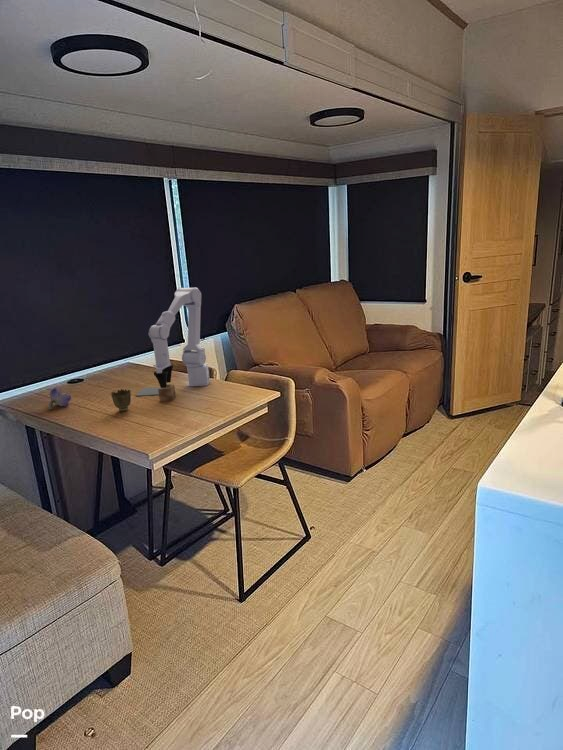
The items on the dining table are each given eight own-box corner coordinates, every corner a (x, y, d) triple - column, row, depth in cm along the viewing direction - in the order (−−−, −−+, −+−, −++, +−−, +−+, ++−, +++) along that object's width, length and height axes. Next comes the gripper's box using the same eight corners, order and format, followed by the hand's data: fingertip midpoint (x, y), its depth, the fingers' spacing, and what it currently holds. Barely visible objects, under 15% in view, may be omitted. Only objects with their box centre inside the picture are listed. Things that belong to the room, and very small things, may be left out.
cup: (128, 406, 198) (125, 387, 196) (136, 409, 193) (133, 391, 191) (110, 411, 193) (107, 392, 191) (119, 415, 188) (116, 396, 186)
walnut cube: (175, 396, 207) (174, 384, 205) (172, 400, 202) (171, 388, 200) (163, 397, 207) (161, 385, 205) (159, 401, 202) (158, 389, 200)
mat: (166, 387, 220) (166, 386, 220) (160, 395, 210) (160, 394, 210) (143, 388, 221) (143, 387, 220) (135, 396, 210) (135, 395, 210)
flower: (51, 397, 194) (61, 380, 201) (38, 404, 198) (48, 387, 205) (69, 411, 199) (78, 394, 206) (55, 418, 202) (65, 401, 210)
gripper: (156, 350, 206) (160, 380, 210) (147, 358, 192) (151, 390, 196) (173, 349, 205) (176, 379, 209) (164, 357, 192) (168, 389, 195)
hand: (165, 384), depth 202 cm, fingers open, 7 cm apart
